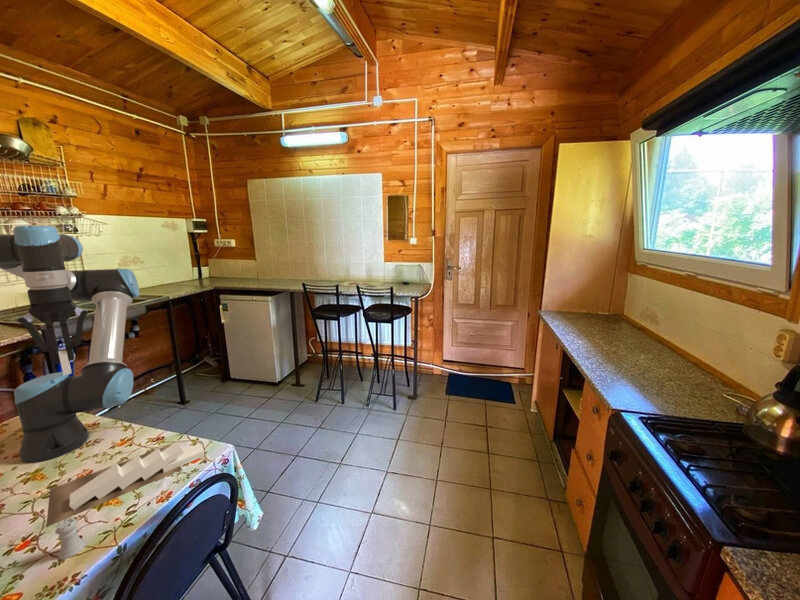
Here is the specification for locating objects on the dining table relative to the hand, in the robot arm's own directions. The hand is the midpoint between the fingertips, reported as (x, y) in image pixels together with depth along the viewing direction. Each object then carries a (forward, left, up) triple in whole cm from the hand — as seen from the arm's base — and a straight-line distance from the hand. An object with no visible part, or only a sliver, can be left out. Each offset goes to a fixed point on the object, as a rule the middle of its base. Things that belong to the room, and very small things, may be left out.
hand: (67, 372), depth 88 cm
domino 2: (+14, -11, -27) cm, 32 cm away
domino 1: (+10, -15, -27) cm, 33 cm away
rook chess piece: (+22, -26, -30) cm, 45 cm away
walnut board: (+14, -6, -29) cm, 33 cm away
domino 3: (+17, -8, -27) cm, 33 cm away
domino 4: (+20, -5, -27) cm, 34 cm away
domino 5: (+23, -2, -27) cm, 36 cm away
